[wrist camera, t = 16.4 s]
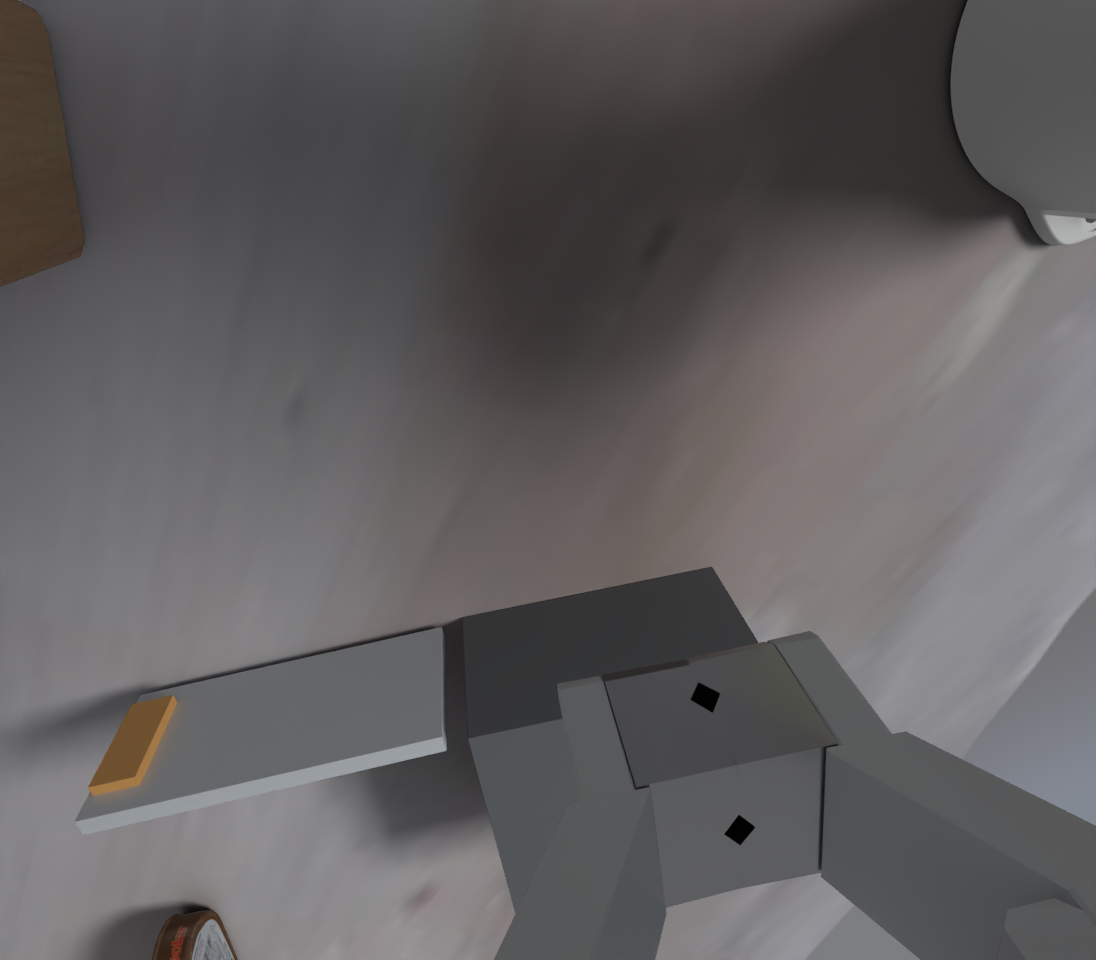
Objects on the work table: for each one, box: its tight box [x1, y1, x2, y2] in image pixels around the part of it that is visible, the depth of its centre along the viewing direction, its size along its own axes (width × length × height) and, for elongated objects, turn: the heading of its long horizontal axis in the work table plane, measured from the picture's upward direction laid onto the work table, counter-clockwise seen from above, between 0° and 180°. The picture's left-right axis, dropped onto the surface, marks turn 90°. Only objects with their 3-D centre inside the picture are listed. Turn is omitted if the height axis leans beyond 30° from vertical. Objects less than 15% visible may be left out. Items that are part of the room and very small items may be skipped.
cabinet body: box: [462, 567, 758, 913], centre depth 45 cm, size 16×17×10 cm
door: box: [75, 627, 447, 835], centre depth 41 cm, size 2×18×9 cm, turn 100°
